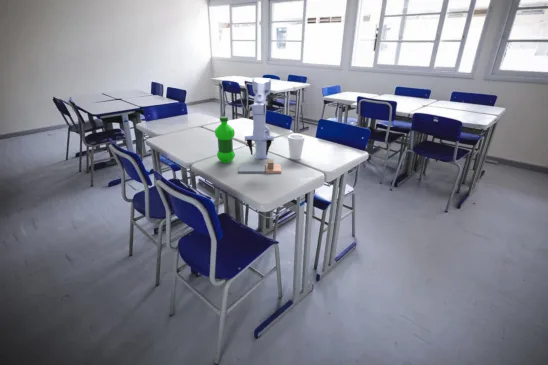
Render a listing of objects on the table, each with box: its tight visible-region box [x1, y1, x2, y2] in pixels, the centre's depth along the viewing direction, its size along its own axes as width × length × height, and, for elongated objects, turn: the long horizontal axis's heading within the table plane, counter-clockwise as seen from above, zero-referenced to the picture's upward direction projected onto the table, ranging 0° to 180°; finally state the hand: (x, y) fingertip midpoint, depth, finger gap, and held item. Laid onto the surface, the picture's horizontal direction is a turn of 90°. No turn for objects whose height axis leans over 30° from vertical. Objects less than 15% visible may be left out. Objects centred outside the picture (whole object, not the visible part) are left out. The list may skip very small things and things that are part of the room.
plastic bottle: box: [214, 116, 236, 164], centre depth 155 cm, size 10×10×25 cm
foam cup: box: [287, 133, 305, 160], centre depth 164 cm, size 10×9×13 cm
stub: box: [265, 158, 282, 174], centre depth 149 cm, size 10×8×5 cm
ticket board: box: [237, 163, 266, 174], centre depth 150 cm, size 10×14×1 cm
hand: (259, 154), depth 145 cm, fingers open, 7 cm apart
